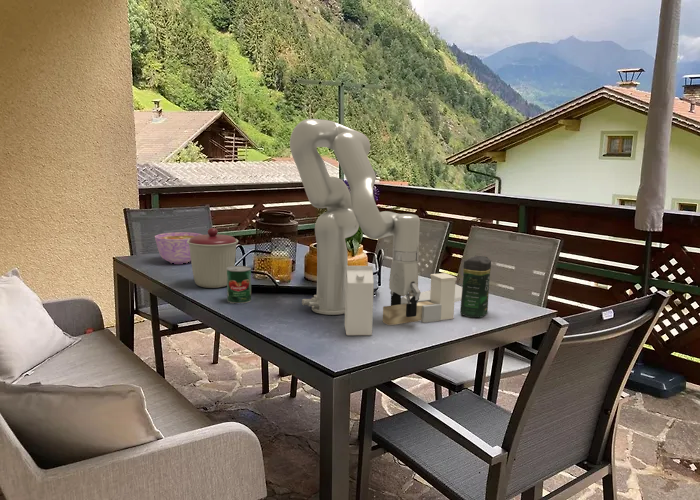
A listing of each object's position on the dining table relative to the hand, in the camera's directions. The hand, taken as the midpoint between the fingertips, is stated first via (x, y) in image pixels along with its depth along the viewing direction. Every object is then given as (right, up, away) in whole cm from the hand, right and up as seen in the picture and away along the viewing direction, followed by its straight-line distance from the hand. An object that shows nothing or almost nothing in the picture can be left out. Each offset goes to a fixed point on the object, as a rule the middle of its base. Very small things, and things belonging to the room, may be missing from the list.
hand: (403, 311), depth 178 cm
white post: (+10, -2, +5) cm, 11 cm away
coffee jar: (+23, -2, +9) cm, 25 cm away
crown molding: (+13, +1, +26) cm, 29 cm away
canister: (-66, +6, +39) cm, 77 cm away
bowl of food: (-89, +13, +77) cm, 119 cm away
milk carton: (-14, -5, -11) cm, 18 cm away
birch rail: (+2, -3, +1) cm, 4 cm away
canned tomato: (-53, +2, +19) cm, 56 cm away
